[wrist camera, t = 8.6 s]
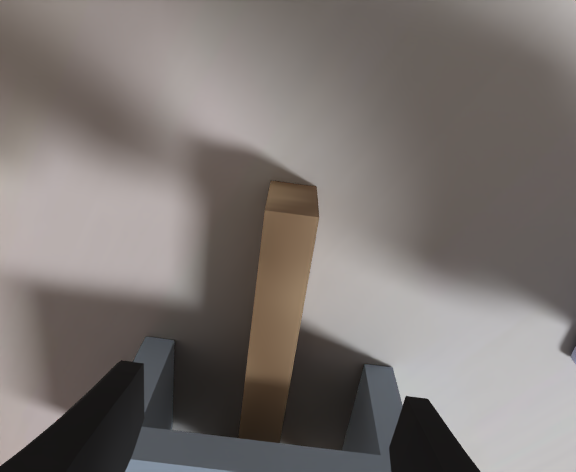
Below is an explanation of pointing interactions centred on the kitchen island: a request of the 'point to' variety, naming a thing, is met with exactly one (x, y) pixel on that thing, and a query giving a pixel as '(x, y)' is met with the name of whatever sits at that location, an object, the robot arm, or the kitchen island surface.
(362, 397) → the low shelf
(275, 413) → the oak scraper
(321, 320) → the kitchen island surface
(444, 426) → the robot arm
